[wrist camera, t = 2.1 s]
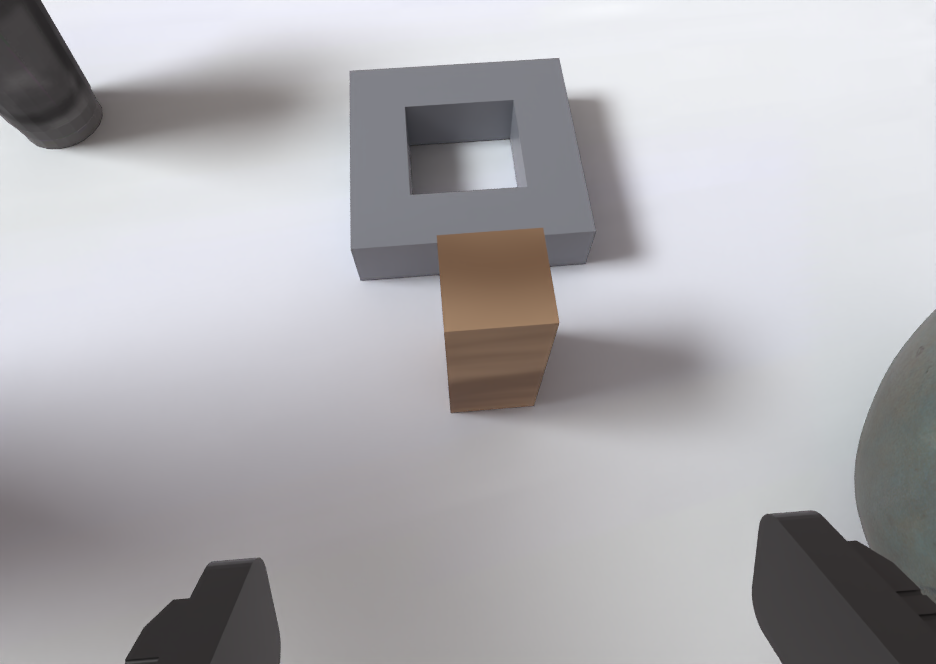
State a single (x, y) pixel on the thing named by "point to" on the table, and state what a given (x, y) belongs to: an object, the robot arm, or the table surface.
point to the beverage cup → (42, 79)
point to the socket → (461, 120)
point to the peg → (496, 316)
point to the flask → (902, 462)
